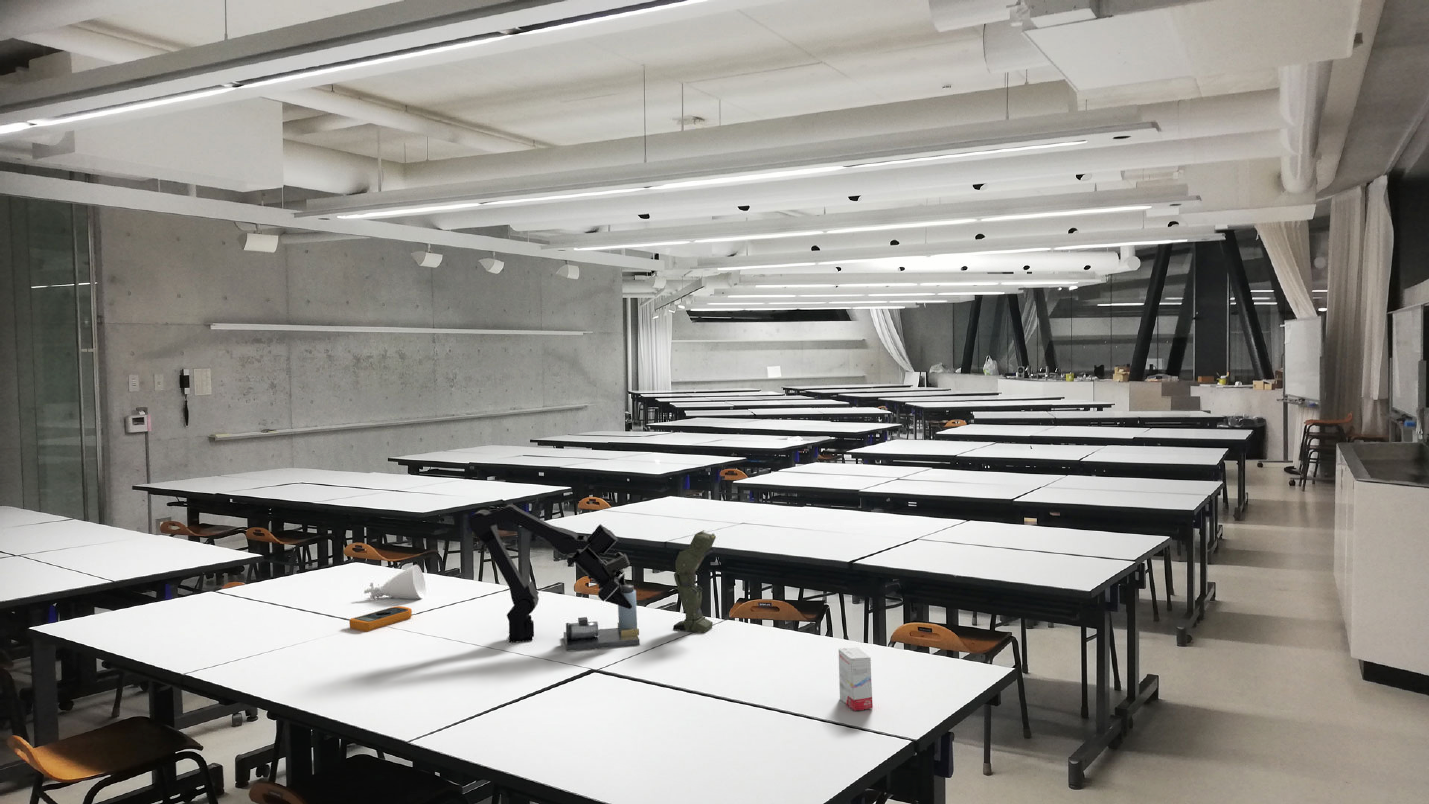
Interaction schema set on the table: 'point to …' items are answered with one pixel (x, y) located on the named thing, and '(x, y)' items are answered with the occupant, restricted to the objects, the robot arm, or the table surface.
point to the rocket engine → (401, 585)
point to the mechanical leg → (692, 583)
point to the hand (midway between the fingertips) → (632, 603)
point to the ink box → (855, 678)
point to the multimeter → (380, 618)
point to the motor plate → (602, 640)
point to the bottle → (628, 615)
